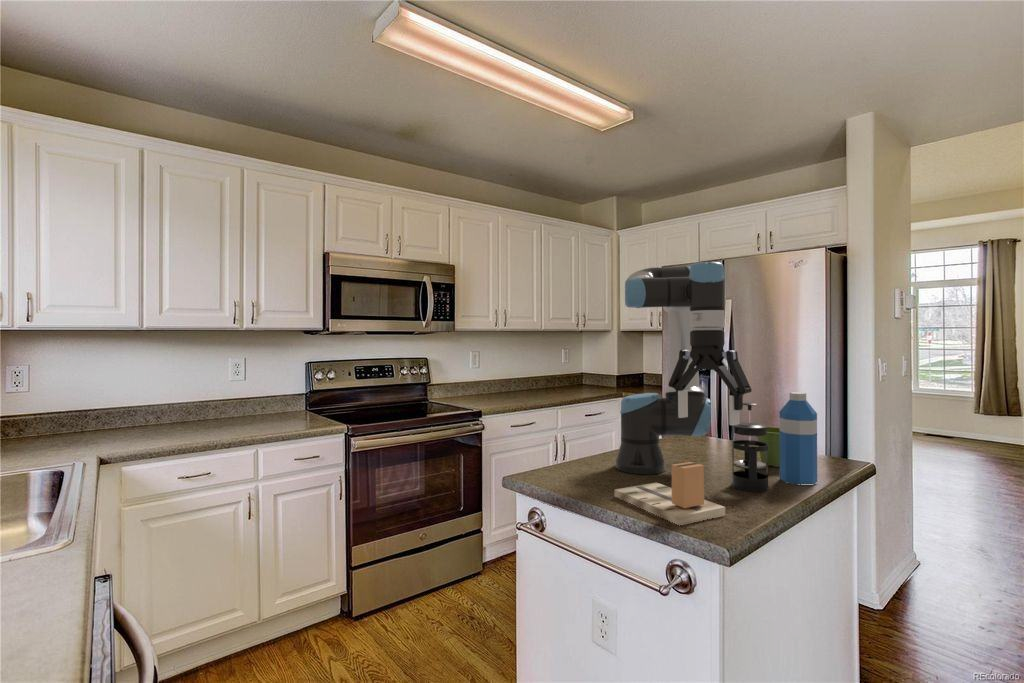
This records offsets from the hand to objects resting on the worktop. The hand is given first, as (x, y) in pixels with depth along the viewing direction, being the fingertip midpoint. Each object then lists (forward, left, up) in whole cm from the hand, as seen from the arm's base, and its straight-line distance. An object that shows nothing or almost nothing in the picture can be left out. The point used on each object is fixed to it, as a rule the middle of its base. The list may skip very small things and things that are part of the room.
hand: (707, 421), depth 121 cm
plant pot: (-24, +54, -22) cm, 63 cm away
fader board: (-9, -5, -22) cm, 24 cm away
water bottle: (-8, +43, -22) cm, 49 cm away
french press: (-10, +26, -22) cm, 36 cm away
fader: (-2, -5, -19) cm, 20 cm away
